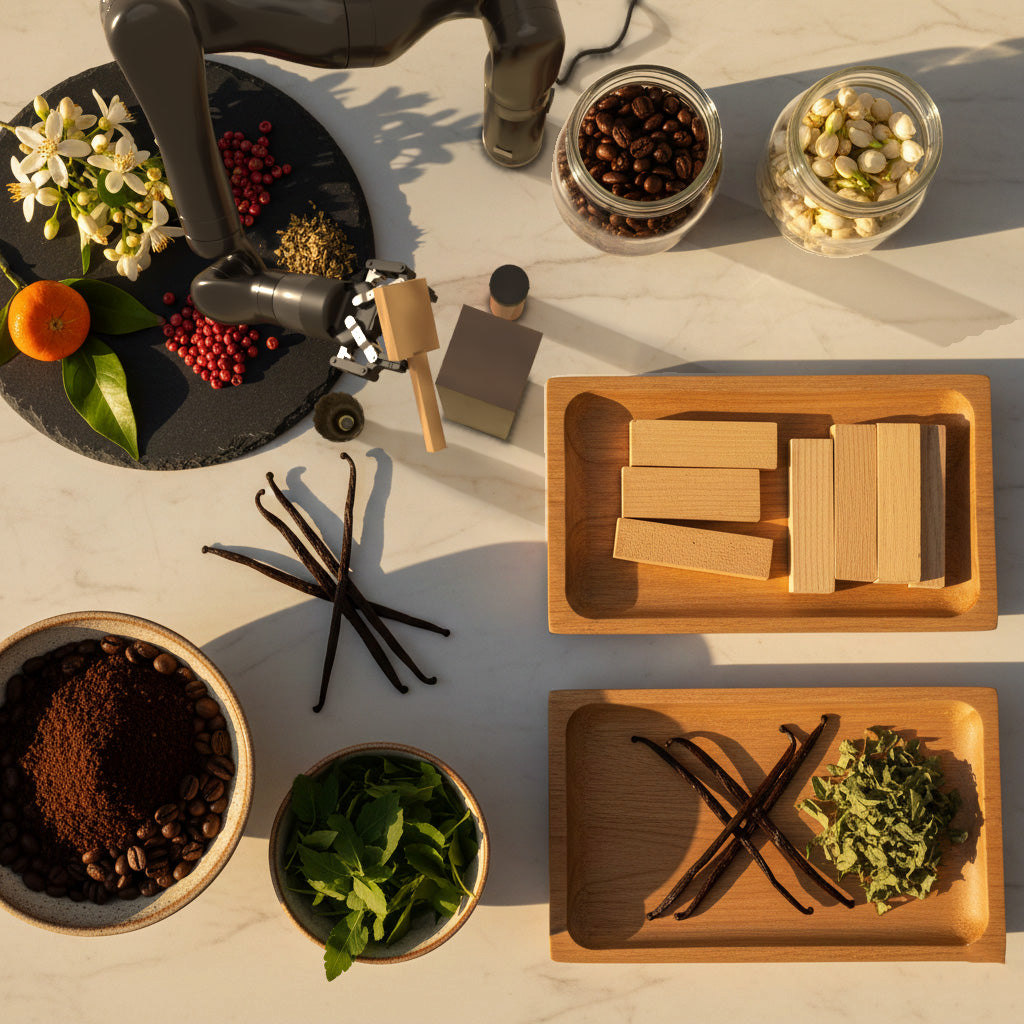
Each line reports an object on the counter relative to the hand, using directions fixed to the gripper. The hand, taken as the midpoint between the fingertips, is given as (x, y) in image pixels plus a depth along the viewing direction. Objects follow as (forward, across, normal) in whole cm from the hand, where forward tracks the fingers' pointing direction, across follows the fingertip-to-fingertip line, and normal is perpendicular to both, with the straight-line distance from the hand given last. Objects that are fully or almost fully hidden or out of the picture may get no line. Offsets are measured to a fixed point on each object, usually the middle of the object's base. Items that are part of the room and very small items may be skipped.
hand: (421, 330), depth 92 cm
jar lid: (-6, +15, +22) cm, 27 cm away
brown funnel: (-26, -11, +23) cm, 36 cm away
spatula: (+2, -4, 0) cm, 5 cm away
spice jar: (-11, +15, +31) cm, 36 cm away
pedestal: (-9, 0, +32) cm, 34 cm away
